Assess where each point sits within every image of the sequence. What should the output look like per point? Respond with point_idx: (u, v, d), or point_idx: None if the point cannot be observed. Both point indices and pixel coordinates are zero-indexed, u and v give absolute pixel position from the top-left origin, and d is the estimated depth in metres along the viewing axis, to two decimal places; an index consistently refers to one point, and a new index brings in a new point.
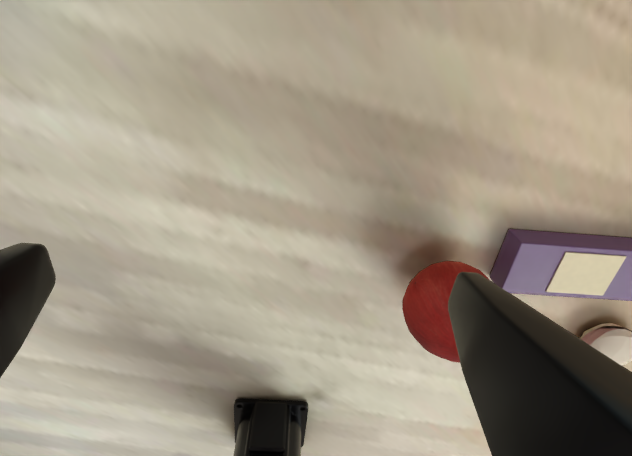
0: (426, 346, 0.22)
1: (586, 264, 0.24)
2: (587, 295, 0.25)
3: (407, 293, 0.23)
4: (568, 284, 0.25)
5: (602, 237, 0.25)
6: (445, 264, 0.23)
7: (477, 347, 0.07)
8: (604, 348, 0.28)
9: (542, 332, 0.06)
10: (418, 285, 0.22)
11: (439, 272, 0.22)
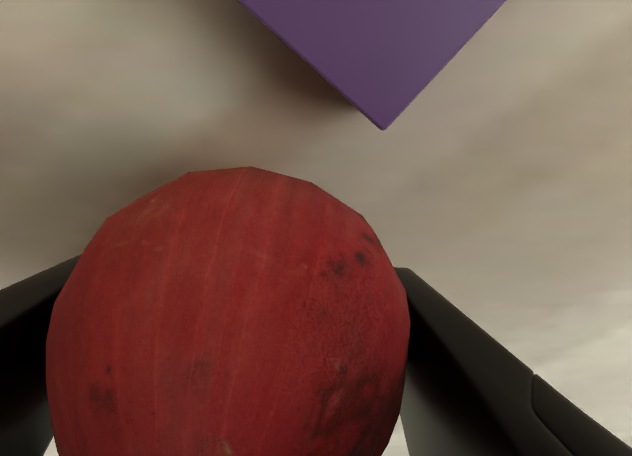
0: None
1: None
2: None
3: None
4: None
5: None
6: None
7: None
8: None
9: (450, 327, 0.06)
10: None
11: None
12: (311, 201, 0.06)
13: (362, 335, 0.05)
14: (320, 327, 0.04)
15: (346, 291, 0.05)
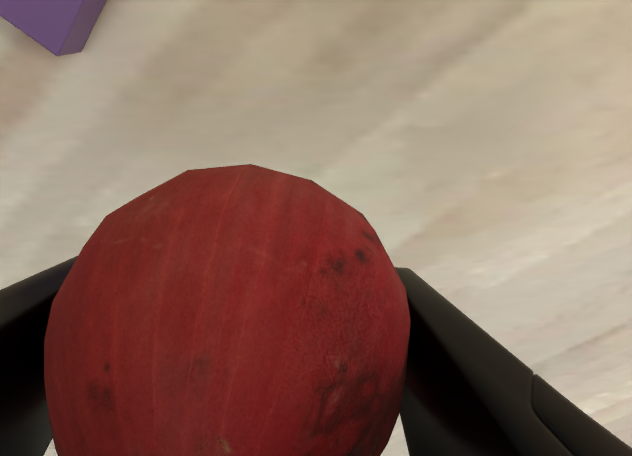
0: None
1: None
2: None
3: None
4: None
5: None
6: None
7: None
8: None
9: (450, 327, 0.06)
10: None
11: None
12: (311, 199, 0.05)
13: (363, 333, 0.05)
14: (319, 324, 0.04)
15: (346, 288, 0.05)
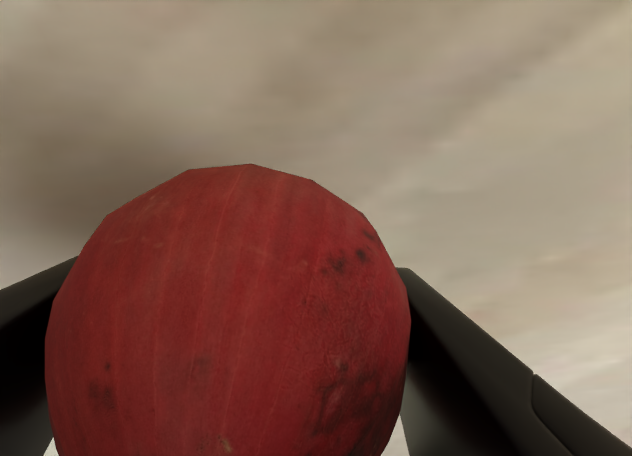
0: None
1: None
2: None
3: None
4: None
5: None
6: None
7: None
8: None
9: (450, 327, 0.06)
10: None
11: None
12: (312, 199, 0.05)
13: (363, 332, 0.05)
14: (320, 324, 0.04)
15: (346, 288, 0.05)
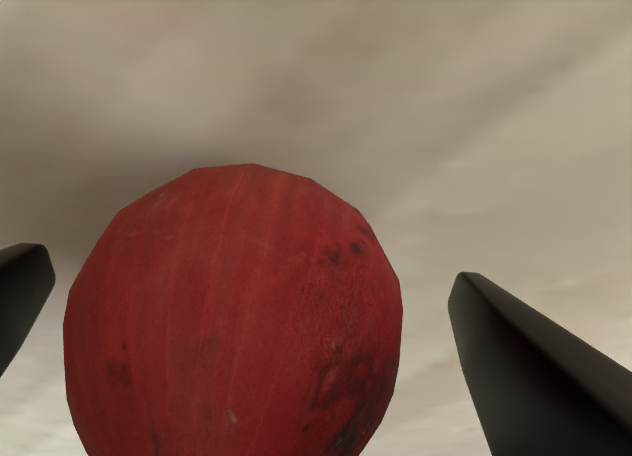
0: None
1: None
2: None
3: None
4: None
5: None
6: None
7: (477, 347, 0.07)
8: None
9: (542, 332, 0.06)
10: None
11: None
12: (310, 196, 0.06)
13: (357, 319, 0.05)
14: (316, 309, 0.05)
15: (342, 277, 0.05)
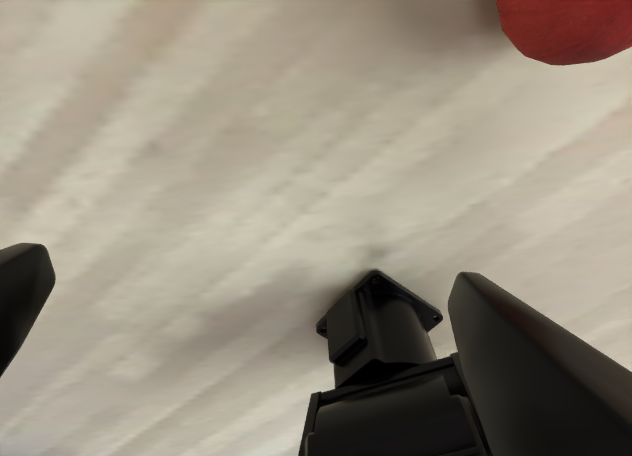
0: (598, 49, 0.13)
1: None
2: None
3: (507, 33, 0.15)
4: None
5: None
6: None
7: (477, 347, 0.07)
8: None
9: (542, 332, 0.06)
10: (503, 7, 0.14)
11: None
12: None
13: None
14: None
15: None
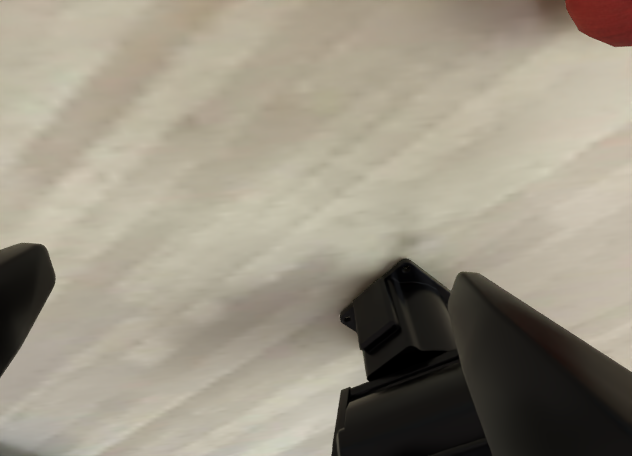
0: None
1: None
2: None
3: (573, 11, 0.14)
4: None
5: None
6: None
7: (477, 347, 0.07)
8: None
9: (542, 332, 0.06)
10: None
11: None
12: None
13: None
14: None
15: None
